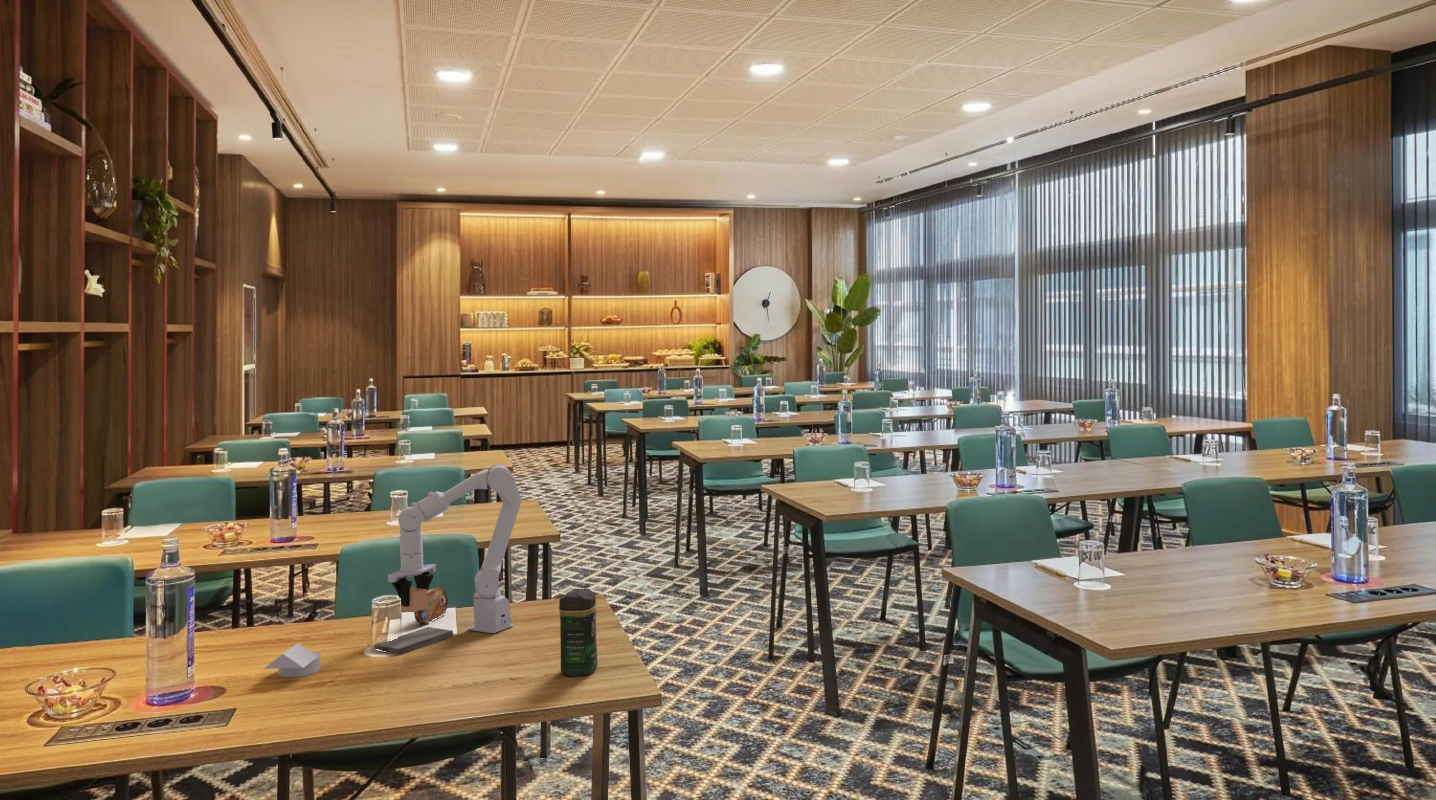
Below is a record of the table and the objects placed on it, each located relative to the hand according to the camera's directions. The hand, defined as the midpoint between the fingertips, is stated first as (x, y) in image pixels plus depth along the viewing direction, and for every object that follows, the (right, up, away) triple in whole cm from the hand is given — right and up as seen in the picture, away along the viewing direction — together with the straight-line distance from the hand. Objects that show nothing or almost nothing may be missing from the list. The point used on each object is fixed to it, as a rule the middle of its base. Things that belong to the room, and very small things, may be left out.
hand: (413, 603), depth 257 cm
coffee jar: (+49, -8, -34) cm, 60 cm away
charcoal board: (+3, -9, -7) cm, 12 cm away
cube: (0, -1, 0) cm, 1 cm away
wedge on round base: (-18, -10, -30) cm, 37 cm away
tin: (0, -8, +16) cm, 18 cm away
